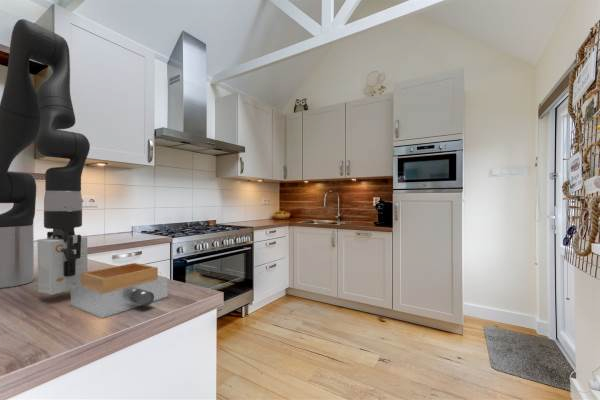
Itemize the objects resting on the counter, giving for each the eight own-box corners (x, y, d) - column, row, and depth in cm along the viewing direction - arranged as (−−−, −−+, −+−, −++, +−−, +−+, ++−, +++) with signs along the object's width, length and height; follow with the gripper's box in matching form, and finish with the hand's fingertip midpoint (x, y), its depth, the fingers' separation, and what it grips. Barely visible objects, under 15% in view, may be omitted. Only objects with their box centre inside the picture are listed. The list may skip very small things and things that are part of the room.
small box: (73, 282, 77) (73, 235, 77) (88, 285, 75) (88, 236, 75) (36, 291, 70) (36, 239, 70) (51, 295, 67) (51, 240, 67)
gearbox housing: (70, 304, 67) (70, 273, 67) (134, 287, 80) (134, 261, 80) (111, 322, 57) (111, 285, 57) (177, 299, 70) (177, 269, 70)
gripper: (33, 208, 73) (33, 272, 73) (56, 210, 65) (56, 282, 65) (69, 207, 79) (69, 266, 79) (93, 209, 72) (93, 274, 72)
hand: (63, 273), depth 72 cm, fingers closed on small box, 6 cm apart
